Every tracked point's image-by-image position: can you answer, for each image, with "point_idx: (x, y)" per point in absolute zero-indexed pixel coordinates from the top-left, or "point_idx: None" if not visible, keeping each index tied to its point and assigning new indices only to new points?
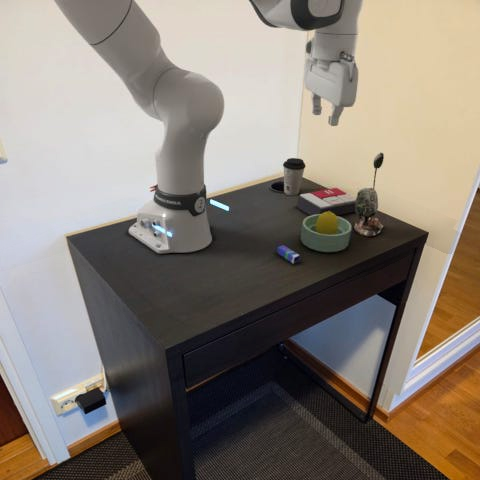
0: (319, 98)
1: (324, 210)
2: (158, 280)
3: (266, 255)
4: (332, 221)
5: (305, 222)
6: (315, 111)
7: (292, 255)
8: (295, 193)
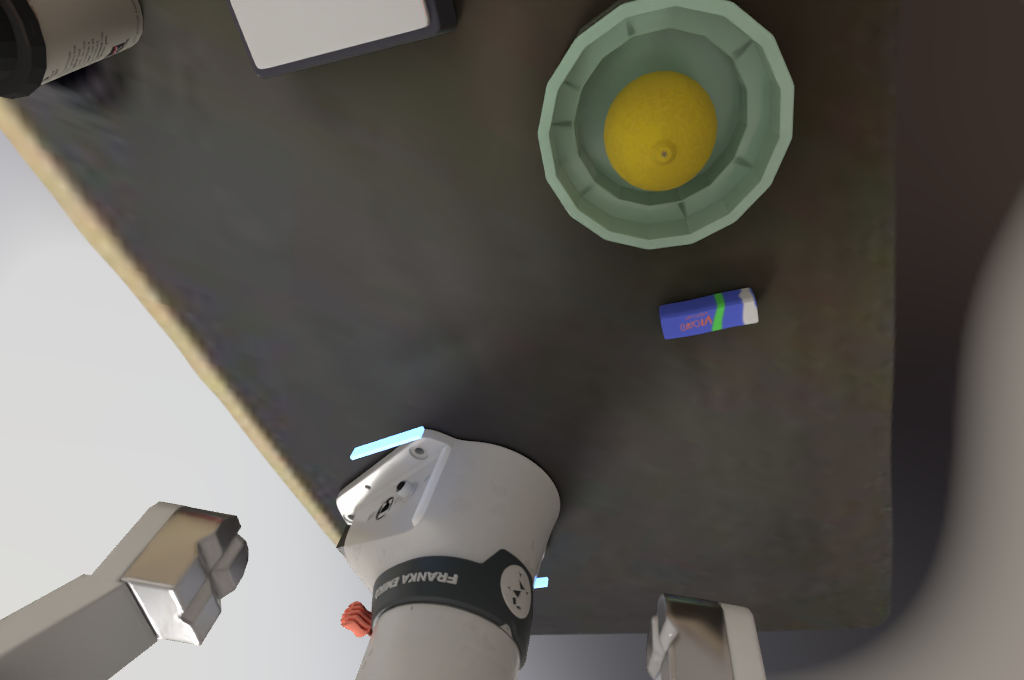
0: (9, 671)
1: (439, 6)
2: (656, 580)
3: (655, 356)
4: (710, 146)
5: (587, 212)
6: (221, 587)
7: (744, 323)
8: (133, 1)
